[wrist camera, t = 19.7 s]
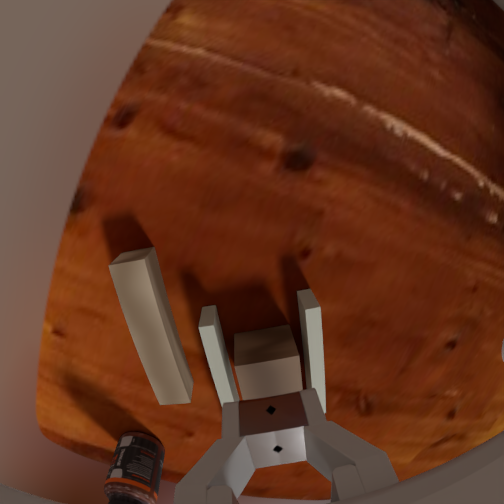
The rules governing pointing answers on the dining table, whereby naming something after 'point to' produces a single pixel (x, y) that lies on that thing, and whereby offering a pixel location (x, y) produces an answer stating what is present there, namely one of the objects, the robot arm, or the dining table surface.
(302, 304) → the channel
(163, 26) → the dining table surface
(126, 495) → the supplement bottle
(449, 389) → the dining table surface
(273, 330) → the block
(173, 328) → the rod
